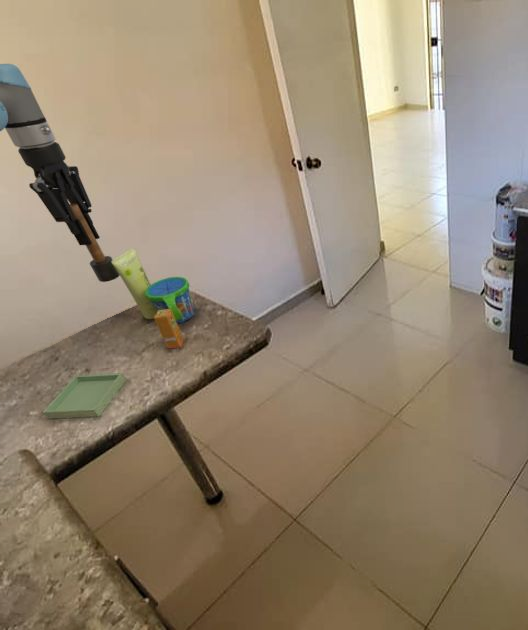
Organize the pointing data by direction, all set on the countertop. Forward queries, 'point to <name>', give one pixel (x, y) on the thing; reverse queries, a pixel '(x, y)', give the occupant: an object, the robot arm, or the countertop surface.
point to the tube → (135, 281)
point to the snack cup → (172, 297)
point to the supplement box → (169, 328)
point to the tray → (85, 396)
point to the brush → (96, 252)
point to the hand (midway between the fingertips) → (89, 241)
